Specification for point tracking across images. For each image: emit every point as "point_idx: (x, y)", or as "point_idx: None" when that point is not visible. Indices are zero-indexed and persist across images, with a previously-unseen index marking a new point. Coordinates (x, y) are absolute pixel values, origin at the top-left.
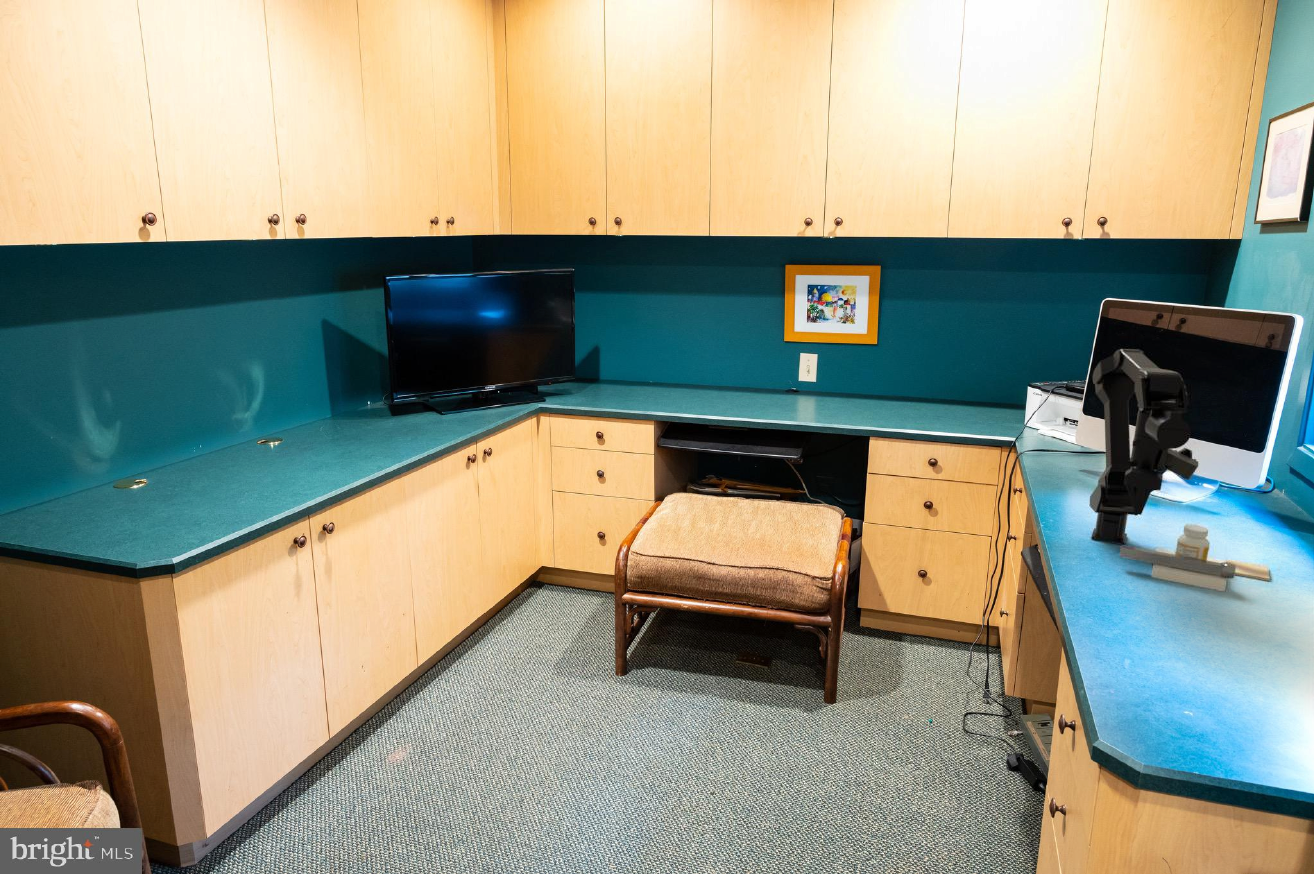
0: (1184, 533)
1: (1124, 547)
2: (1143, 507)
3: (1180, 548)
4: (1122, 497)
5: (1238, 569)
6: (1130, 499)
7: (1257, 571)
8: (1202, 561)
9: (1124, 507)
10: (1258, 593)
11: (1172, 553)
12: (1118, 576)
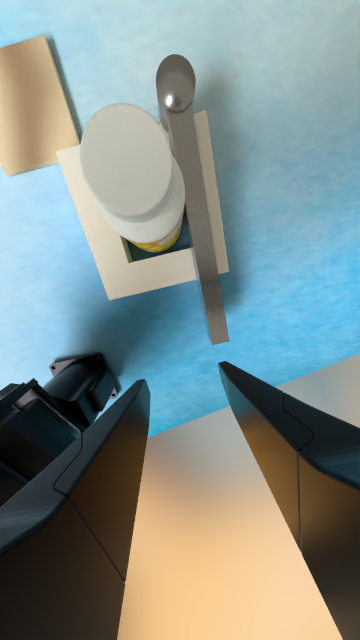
0: (157, 215)
1: (224, 336)
2: (250, 375)
3: (176, 228)
4: (58, 453)
5: (48, 129)
6: (42, 432)
7: (19, 80)
8: (193, 164)
9: (59, 416)
10: (156, 53)
11: (113, 265)
12: (256, 313)
